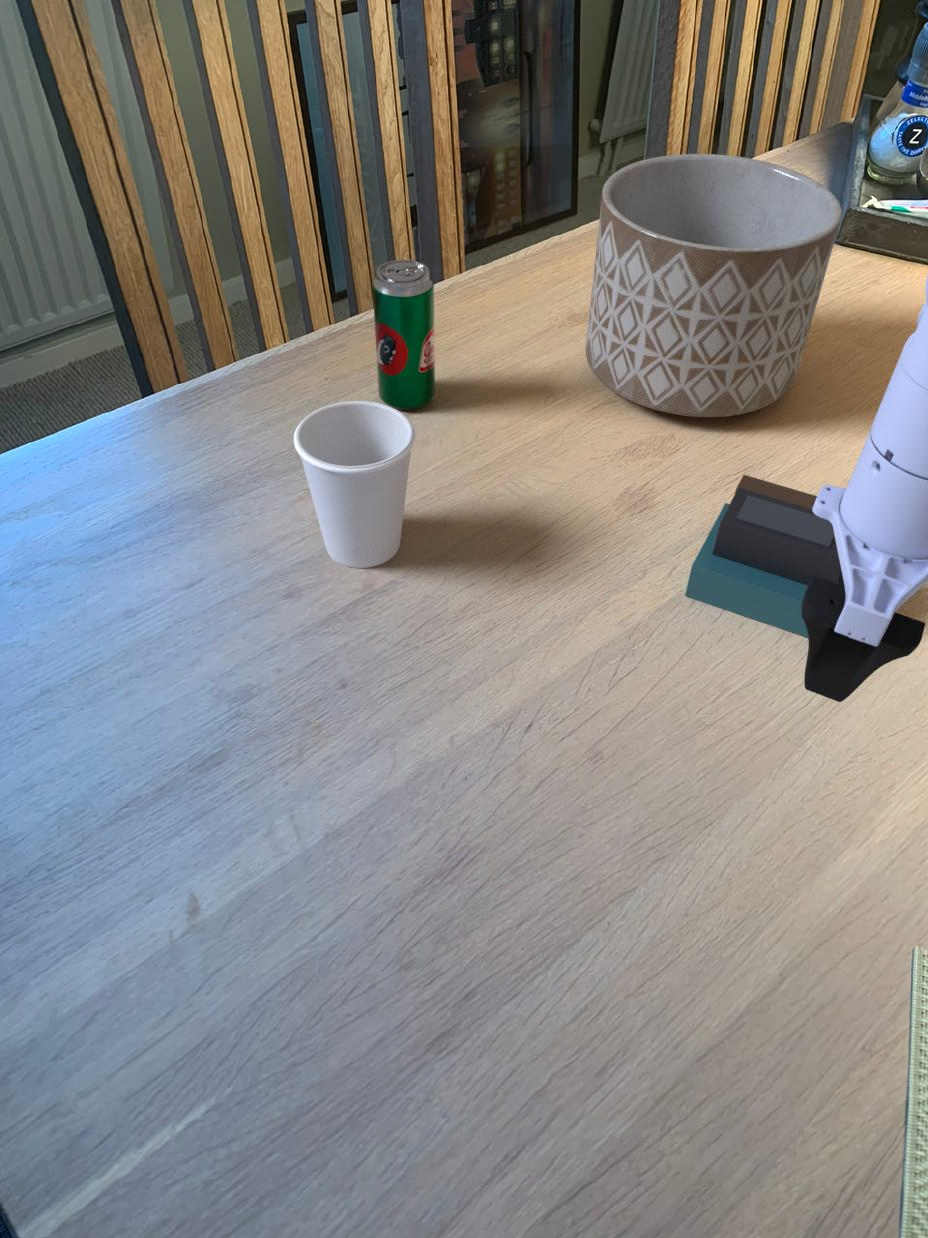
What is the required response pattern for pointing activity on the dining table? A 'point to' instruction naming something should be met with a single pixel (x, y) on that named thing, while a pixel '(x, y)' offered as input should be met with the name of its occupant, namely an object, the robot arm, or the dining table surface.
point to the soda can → (404, 334)
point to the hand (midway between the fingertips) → (840, 645)
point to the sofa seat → (750, 574)
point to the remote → (777, 538)
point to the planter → (707, 281)
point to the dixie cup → (357, 477)
